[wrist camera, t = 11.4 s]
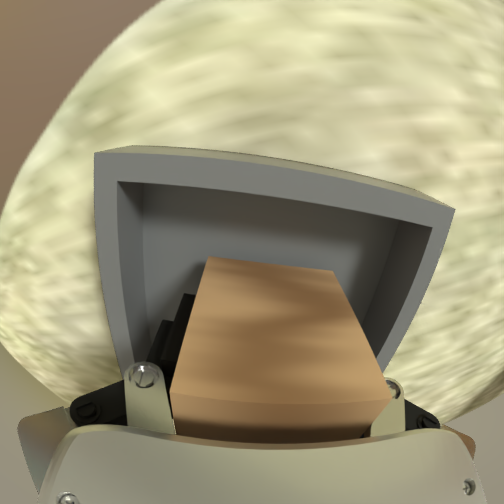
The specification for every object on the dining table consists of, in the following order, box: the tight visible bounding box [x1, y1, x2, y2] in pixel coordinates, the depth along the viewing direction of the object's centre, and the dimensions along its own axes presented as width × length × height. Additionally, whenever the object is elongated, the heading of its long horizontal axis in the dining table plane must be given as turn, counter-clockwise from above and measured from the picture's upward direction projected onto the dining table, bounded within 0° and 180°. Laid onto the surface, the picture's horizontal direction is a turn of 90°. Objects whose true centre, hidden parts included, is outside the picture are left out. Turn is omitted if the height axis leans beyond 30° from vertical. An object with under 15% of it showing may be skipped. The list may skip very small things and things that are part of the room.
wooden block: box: [170, 256, 393, 444], centre depth 10 cm, size 6×6×7 cm
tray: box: [94, 145, 455, 380], centre depth 13 cm, size 14×14×4 cm
